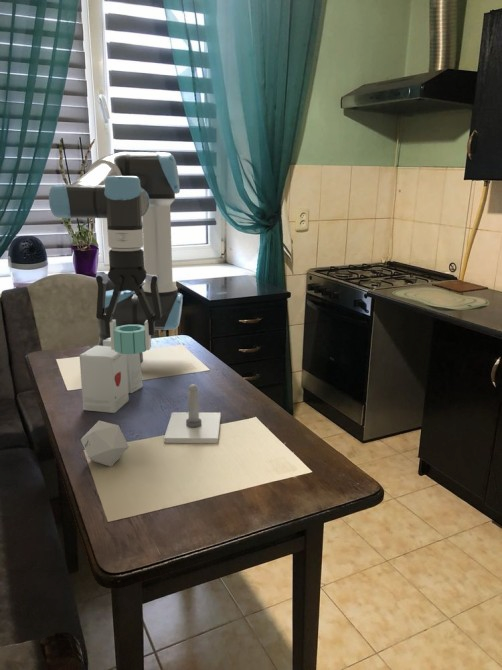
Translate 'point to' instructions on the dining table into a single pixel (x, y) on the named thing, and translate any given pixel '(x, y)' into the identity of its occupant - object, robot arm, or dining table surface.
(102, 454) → the die
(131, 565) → the dining table surface
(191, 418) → the post stand
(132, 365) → the skincare box
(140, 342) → the teal ring
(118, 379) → the supplement box
